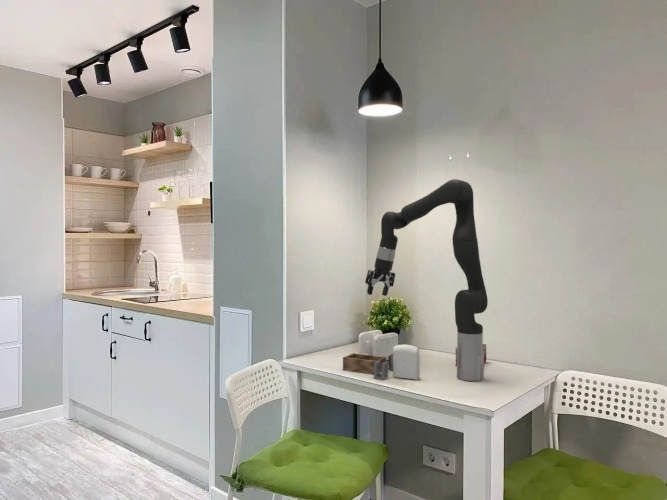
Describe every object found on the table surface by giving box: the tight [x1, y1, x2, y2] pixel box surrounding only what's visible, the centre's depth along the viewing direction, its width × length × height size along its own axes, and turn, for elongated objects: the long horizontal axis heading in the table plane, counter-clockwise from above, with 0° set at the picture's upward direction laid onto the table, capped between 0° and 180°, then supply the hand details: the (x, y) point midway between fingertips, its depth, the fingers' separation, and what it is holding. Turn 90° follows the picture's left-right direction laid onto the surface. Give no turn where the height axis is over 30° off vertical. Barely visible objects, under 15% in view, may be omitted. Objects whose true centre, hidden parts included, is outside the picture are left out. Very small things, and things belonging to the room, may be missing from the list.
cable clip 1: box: [373, 361, 389, 380], centre depth 198 cm, size 4×4×6 cm
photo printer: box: [392, 344, 421, 381], centre depth 199 cm, size 10×4×12 cm, turn 63°
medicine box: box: [455, 343, 487, 367], centre depth 221 cm, size 15×8×8 cm, turn 145°
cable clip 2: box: [387, 354, 393, 372], centre depth 210 cm, size 4×4×6 cm
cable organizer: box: [358, 329, 399, 361], centre depth 229 cm, size 15×11×12 cm
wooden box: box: [342, 352, 387, 375], centre depth 210 cm, size 15×9×5 cm, turn 62°
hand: (376, 294), depth 228 cm, fingers open, 8 cm apart
